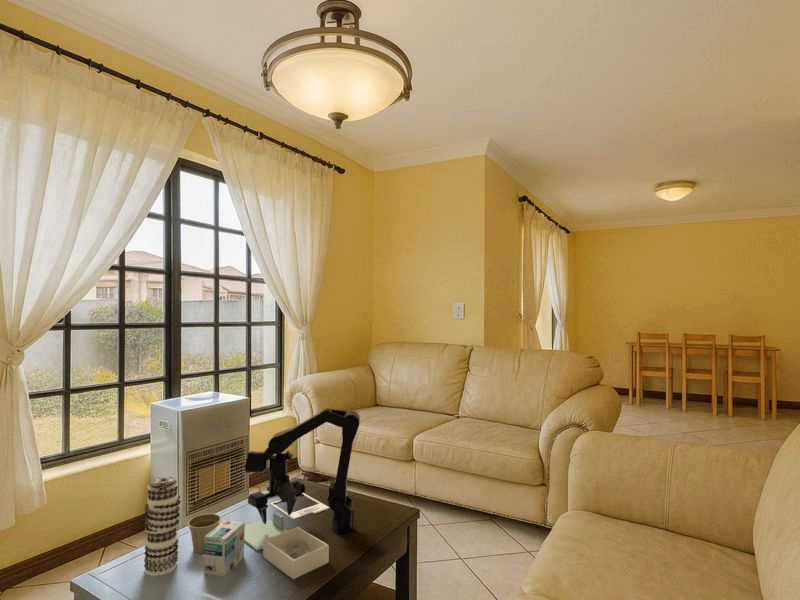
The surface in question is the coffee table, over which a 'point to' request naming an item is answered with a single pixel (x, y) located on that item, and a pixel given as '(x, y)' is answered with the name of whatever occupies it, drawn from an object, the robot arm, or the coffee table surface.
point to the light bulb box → (224, 548)
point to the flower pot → (202, 529)
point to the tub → (309, 561)
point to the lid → (263, 531)
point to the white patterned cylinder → (161, 526)
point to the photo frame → (314, 509)
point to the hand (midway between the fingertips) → (277, 519)
